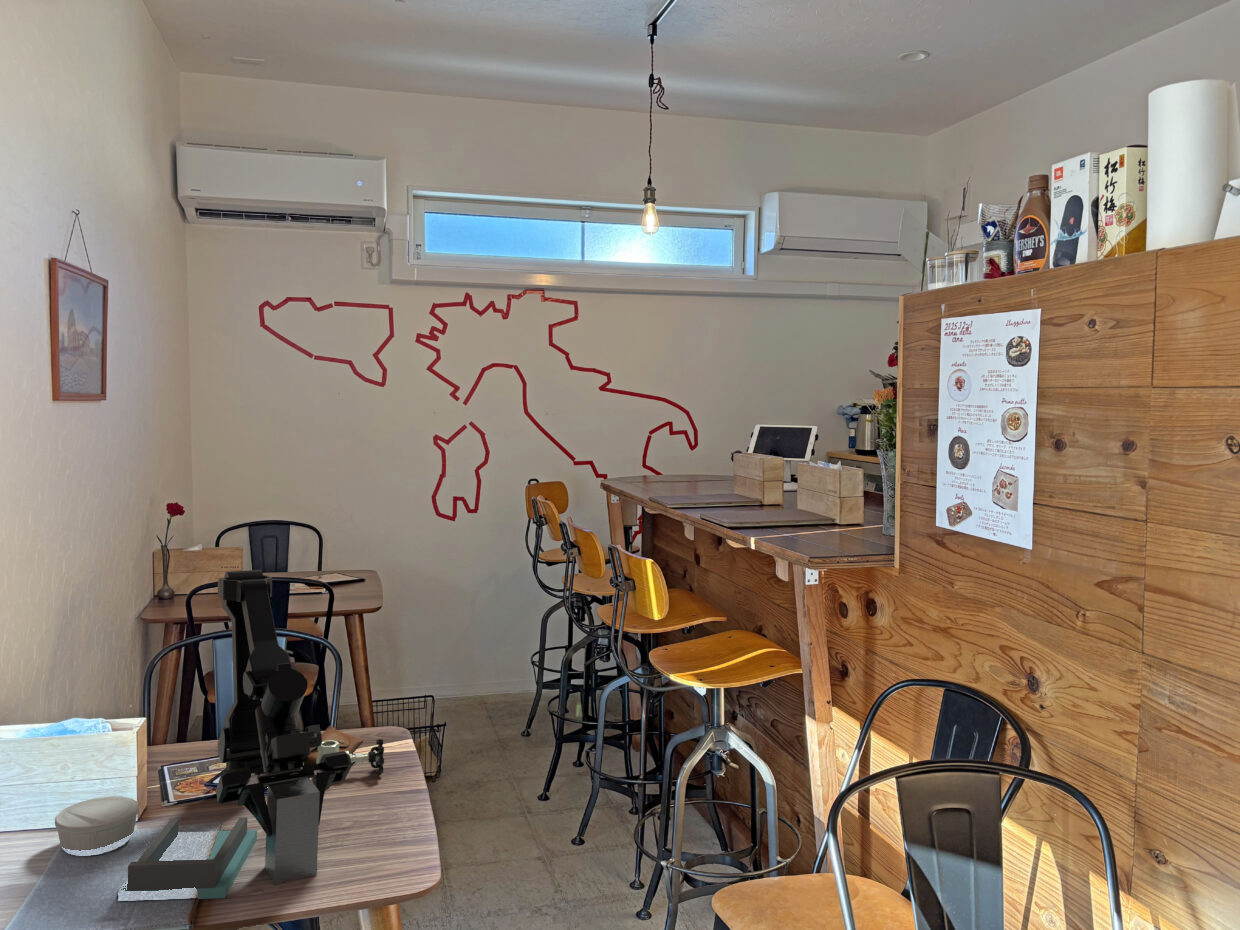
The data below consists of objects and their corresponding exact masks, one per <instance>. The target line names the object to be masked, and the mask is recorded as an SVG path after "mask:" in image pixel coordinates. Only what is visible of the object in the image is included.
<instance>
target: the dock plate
mask: <svg viewBox="0 0 1240 930" xmlns="http://www.w3.org/2000/svg"><path fill="white" fill-rule="evenodd" d="M179 822H180V819H179V818H171V819H169V821H168V822H167V823H166V824H165V825H164V827H163V828H162V829H161V831H160V832H159V833H158V834H157V836H156V837H155V838H154V840H152V842H151V843H150V845H149V846H148V847H147V848H146V849H145V851H144V852H142V854H141V856H140V857H139V858H138V859H137V861H130V863H128V865H127V878H128V884H127V890H126V888H123V890H124V889H125V891H159V890H169V889H170V890H172V889H182V888H194V887H195V888H196V889H197V891H198V899H197V900H210V899H211V900H213V899H226V896H227V895H228V893H229V891H230V889H231V887H232V886H233V884H234V882H235V880H236V878H237V876H238V874H239V873H240V871H241V869H242V868H243V866H244V865H245V862H246V861H247V859H248V856H249V855H250V853H251V851H252V849H253V848H254V845H255V843H256V842H257V839H258V829H248V817H247V816H246V817H244V816H243V817H241V816H240V817H239V818H238V819H237V821H236V822H235V824H234V825H233V827H232V829H231V830H218V831H219V833H218V835H217V838H216V840H215V844H214V847H213V850H212V851H211V856H210V857H209V859H206V860H173V861H159V859H160V858H161V857H162V855H163V853H164V852H165V851H166V849H167V848H168V847H169V846H170V845H171V843H172V842H173V841H174V839H175V838H176V837H177V835H178V832H180V831H179V826H180V825H179ZM125 884H126V883H125ZM123 887H124V886H123ZM125 887H126V886H125ZM119 888H121V886H120V887H119ZM121 890H122V889H121ZM117 891H119V889H117Z"/></svg>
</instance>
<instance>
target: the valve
mask: <svg viewBox="0 0 1240 930" xmlns="http://www.w3.org/2000/svg"><path fill="white" fill-rule="evenodd" d="M375 744H376V745H377V746H373V747H372V748H370V751H368V752H367V754H364V752H358V753H357V752H356V753H355V754H349V751H345V752H346V753H348V754H349V755H350V758H351V763H352V764H353V763H355V764H362V763H364V761H367V763H369V764H370V766H371V767H372V768H373V769H376V771H377V772H376V774H377V773H378V774H383V773H384V765H385V758H384V752H385V746H383V745H384V739H383V738H380V739H379V738H378V739H376V742H375ZM335 752H339V743H338V742H337V741H333V740H328V741H323V742H322V745H321V746H319V747H318V753H319V755H318V757H317V761H316V763H317V764H318V763H319V762H320V760H321V758H322V756H323V754H329V753H335Z"/></svg>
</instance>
